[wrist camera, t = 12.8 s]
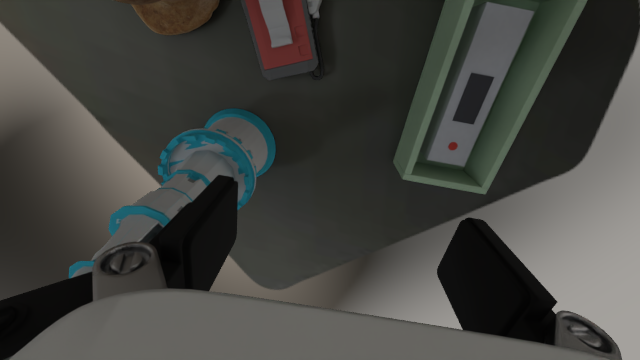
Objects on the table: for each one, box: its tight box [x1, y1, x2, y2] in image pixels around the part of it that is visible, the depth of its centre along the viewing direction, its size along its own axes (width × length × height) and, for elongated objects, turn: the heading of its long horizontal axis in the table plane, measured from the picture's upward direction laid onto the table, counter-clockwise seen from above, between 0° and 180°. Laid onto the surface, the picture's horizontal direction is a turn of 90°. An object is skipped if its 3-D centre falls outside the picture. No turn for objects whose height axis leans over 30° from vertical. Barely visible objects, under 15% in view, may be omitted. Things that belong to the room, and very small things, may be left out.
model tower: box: [69, 108, 276, 278], centre depth 22 cm, size 10×10×30 cm
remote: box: [420, 2, 534, 166], centre depth 29 cm, size 16×5×3 cm, turn 170°
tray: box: [393, 0, 587, 194], centre depth 29 cm, size 21×10×6 cm, turn 170°
